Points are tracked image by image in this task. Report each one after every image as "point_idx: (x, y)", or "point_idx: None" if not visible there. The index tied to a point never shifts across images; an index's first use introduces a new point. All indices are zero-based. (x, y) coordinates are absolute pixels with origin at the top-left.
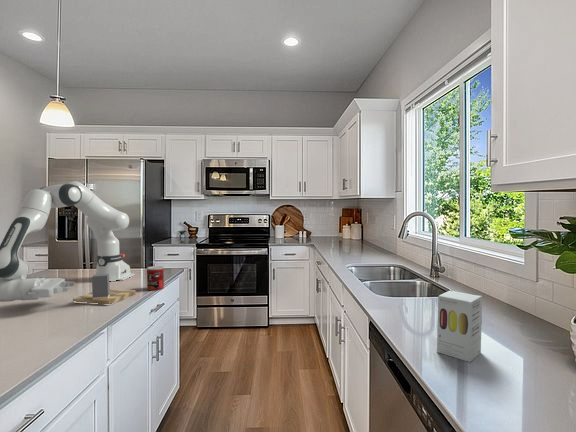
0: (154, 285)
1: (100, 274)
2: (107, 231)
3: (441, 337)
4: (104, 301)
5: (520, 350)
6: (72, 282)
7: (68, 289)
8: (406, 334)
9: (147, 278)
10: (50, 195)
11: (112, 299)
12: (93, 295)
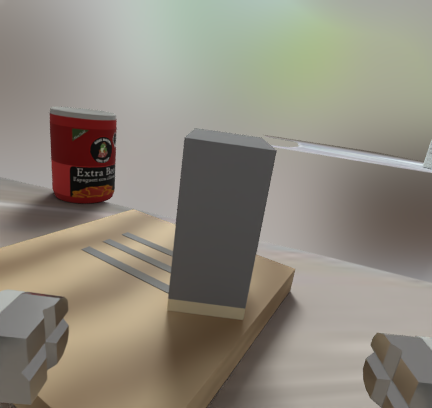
0: (112, 180)
1: (203, 134)
2: None
3: None
4: (286, 283)
5: (423, 163)
6: (61, 300)
7: (369, 364)
8: (407, 167)
9: (83, 157)
10: None
11: (267, 259)
12: (246, 290)
